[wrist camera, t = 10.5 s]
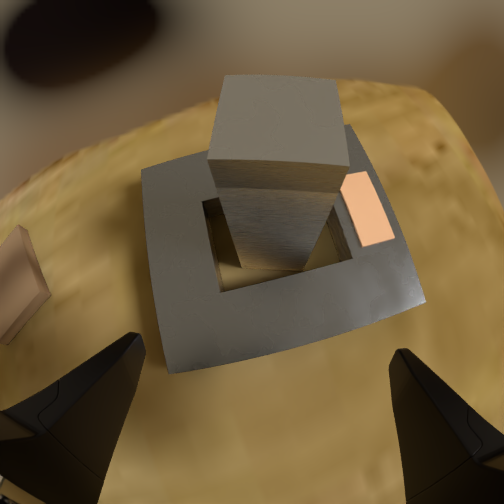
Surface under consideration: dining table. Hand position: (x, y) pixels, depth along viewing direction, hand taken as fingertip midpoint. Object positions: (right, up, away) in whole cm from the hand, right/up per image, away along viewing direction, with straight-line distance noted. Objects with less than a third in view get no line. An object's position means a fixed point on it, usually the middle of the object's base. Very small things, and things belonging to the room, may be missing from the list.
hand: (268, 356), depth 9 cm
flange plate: (+1, +4, +11) cm, 11 cm away
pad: (-23, 0, +11) cm, 25 cm away
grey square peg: (+1, +4, +11) cm, 11 cm away
